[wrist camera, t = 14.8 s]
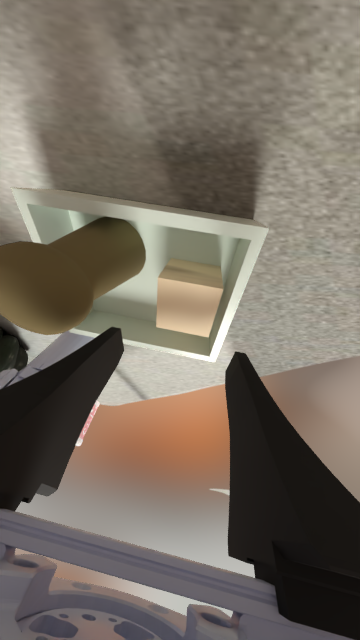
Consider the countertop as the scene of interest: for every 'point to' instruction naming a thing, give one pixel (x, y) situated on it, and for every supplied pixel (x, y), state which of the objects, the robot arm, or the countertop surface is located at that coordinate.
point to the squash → (11, 353)
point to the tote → (152, 262)
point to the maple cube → (188, 296)
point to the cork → (67, 274)
